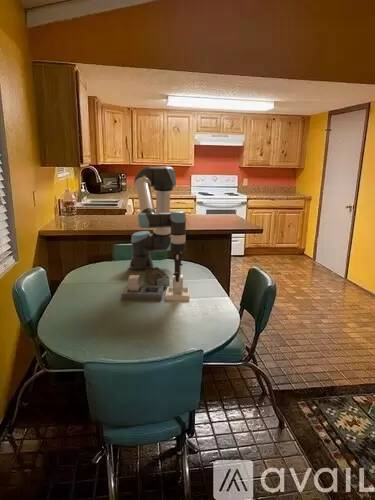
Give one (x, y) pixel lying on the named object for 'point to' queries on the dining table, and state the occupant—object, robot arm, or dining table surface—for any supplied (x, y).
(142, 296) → the rack
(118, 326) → the dining table surface
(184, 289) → the tray
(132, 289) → the beige rectangular block
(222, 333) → the dining table surface
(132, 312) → the dining table surface
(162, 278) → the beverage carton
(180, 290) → the tan rectangular block
